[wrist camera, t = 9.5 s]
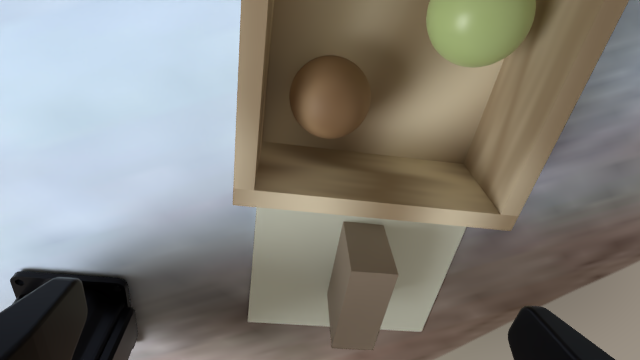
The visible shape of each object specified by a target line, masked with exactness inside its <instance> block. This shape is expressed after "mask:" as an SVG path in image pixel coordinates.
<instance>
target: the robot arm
mask: <svg viewBox="0 0 640 360" xmlns="http://www.w3.org/2000/svg"><path fill="white" fill-rule="evenodd" d="M10 282H11V285H12V288H13V291H14V293H15V296H16V300H15V301H14V303H13V304H12V305H11V306H9V307H8V308H6V309H5V310H3V311H2V312H0V360H128V358H129V356H130V353H131V351H132V349H133V348H134V346H135V343H136V338H137V336H138V330H137V323H136V316H135V310H134V309H133V307H131V303H130V296H129V289H128V284H127V282H126V281H125V280H123V279H120V278H108V277H93V276H79V275H64V274H49V273H35V272H17V273H15V274H14V276H13V277H12V278H11V279H10ZM118 286H119V287H118ZM508 341H509V344H510V348H511V351H512V354H513V358H514V360H615V359H614V358H612V357H611V356H610V355H608V354H607V353H606V352H604V351H603V350H602V349H600V348H599V347H597V346H596V345H595V344H593V343H592V342H591V341H589V340H588V339H587V338H585V337H584V336H583V335H581V334H580V333H579V332H577V331H576V330H575V329H573V328H572V327H571V326H569V325H568V324H566V323H565V322H564V321H562V320H561V319H560V318H558V317H557V316H556V315H554V314H553V313H552V312H550V311H549V310H547V309H546V308H543V307H540V306H525V307H523V308H522V309H521V310H520V312H519V313H518V315H517V317H516V318H515V320H514V322H513V324H512V325H511V327H510V329H509V332H508Z"/></svg>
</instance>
